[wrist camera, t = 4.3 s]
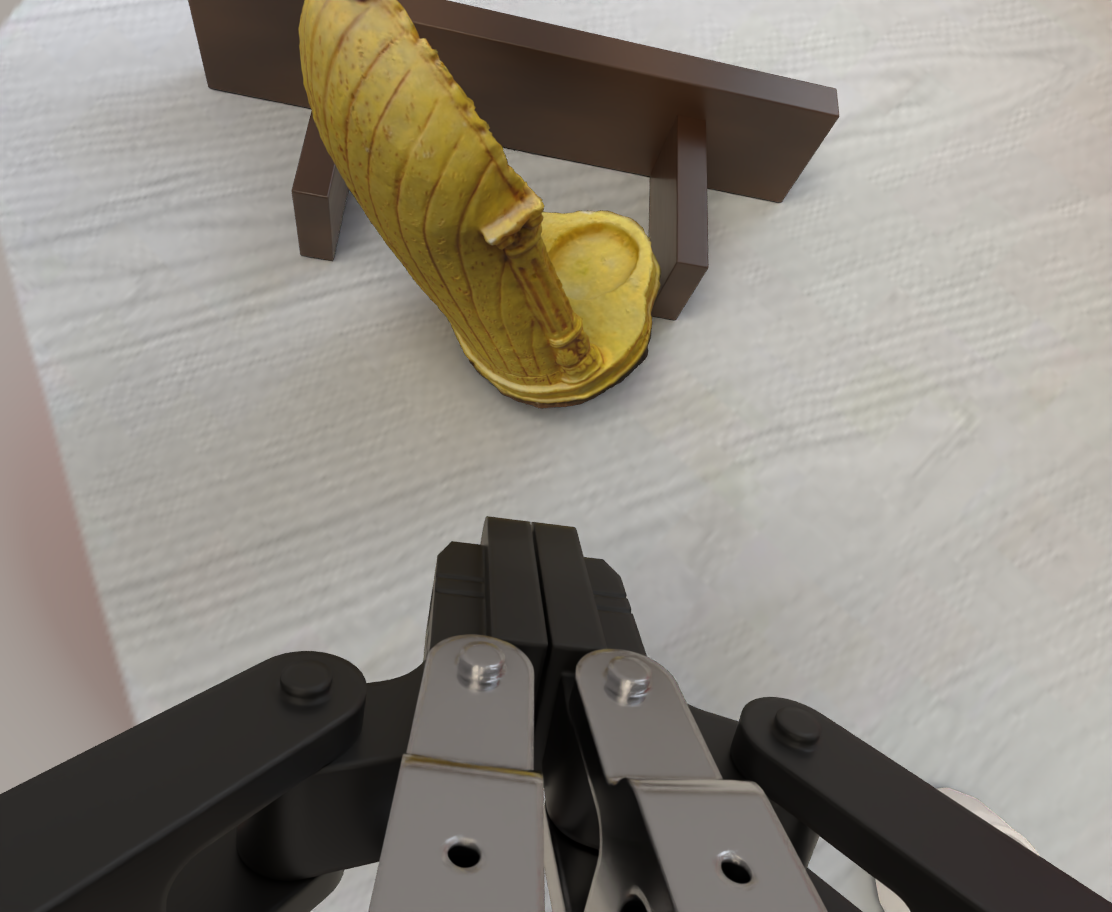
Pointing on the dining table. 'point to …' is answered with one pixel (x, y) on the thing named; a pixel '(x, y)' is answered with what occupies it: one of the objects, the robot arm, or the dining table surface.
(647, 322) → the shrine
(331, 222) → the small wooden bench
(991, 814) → the white jar
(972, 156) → the dining table surface
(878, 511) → the dining table surface
